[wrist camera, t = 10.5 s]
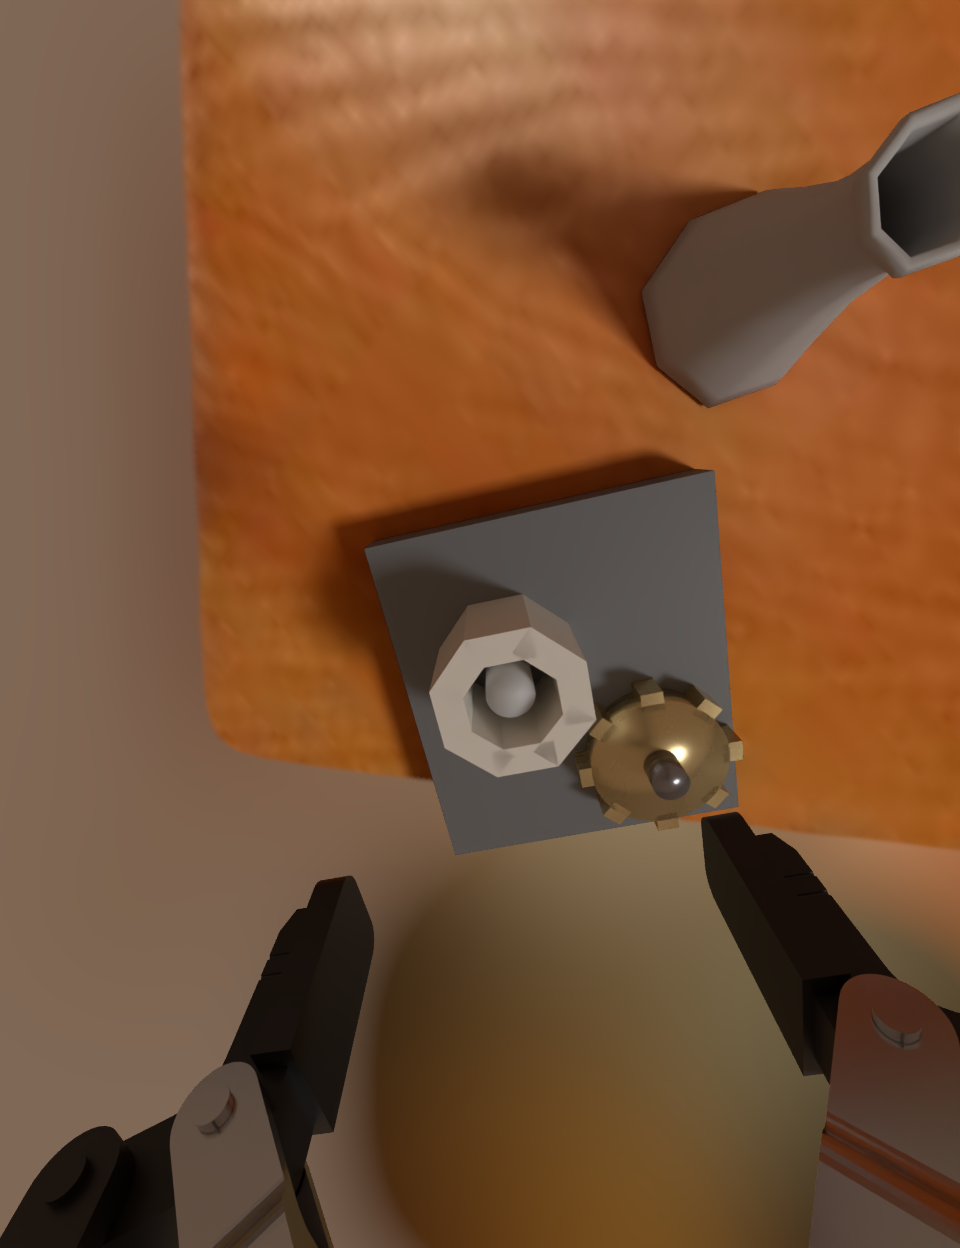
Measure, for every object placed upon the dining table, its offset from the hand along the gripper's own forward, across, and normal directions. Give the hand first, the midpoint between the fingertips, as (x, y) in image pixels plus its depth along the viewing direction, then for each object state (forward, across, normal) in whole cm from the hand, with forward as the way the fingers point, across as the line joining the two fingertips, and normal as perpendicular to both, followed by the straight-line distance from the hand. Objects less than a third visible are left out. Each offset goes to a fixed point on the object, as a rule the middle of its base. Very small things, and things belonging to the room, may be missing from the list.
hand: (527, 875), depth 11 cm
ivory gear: (+13, 0, 0) cm, 13 cm away
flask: (+15, -12, -12) cm, 23 cm away
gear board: (+15, -2, +2) cm, 15 cm away
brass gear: (+13, -6, +6) cm, 15 cm away
